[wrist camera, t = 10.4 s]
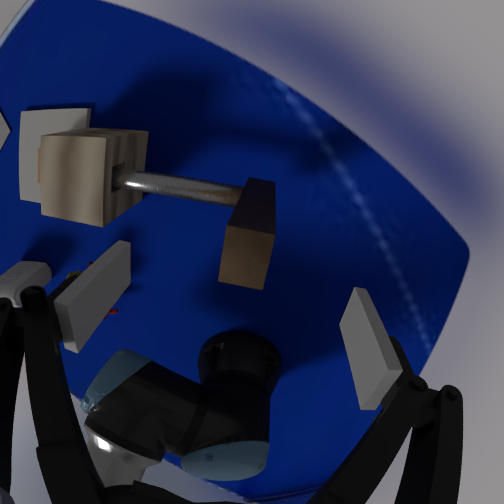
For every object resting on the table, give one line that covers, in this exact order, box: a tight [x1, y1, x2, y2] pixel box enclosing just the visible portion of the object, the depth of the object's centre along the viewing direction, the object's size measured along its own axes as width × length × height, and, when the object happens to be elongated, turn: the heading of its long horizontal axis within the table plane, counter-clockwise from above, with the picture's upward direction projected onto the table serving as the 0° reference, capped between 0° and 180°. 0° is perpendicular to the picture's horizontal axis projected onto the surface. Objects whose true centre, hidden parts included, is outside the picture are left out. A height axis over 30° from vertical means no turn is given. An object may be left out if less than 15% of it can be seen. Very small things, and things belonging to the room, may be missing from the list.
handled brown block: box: [111, 167, 276, 290], centre depth 26 cm, size 26×4×16 cm, turn 80°
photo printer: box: [0, 261, 52, 307], centre depth 43 cm, size 10×4×12 cm, turn 91°
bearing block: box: [40, 128, 149, 227], centre depth 33 cm, size 10×10×11 cm
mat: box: [19, 108, 91, 203], centre depth 38 cm, size 16×16×1 cm
